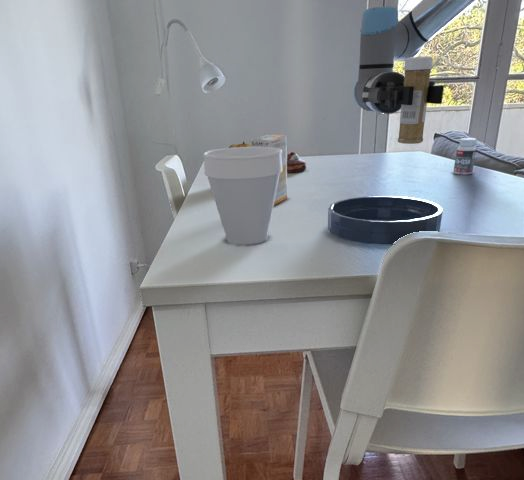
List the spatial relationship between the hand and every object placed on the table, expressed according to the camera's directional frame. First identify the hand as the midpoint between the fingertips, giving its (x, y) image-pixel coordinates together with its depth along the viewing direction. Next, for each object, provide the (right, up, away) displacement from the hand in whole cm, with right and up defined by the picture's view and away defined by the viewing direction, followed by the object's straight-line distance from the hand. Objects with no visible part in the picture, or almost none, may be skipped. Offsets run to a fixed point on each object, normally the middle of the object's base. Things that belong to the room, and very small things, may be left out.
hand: (425, 95), depth 78 cm
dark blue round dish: (-7, -22, +2) cm, 23 cm away
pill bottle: (+26, +4, +47) cm, 54 cm away
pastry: (-18, +10, +60) cm, 63 cm away
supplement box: (-25, -10, +25) cm, 37 cm away
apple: (-32, +2, +46) cm, 56 cm away
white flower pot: (-30, -24, +1) cm, 38 cm away
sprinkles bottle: (0, -4, +9) cm, 10 cm away
